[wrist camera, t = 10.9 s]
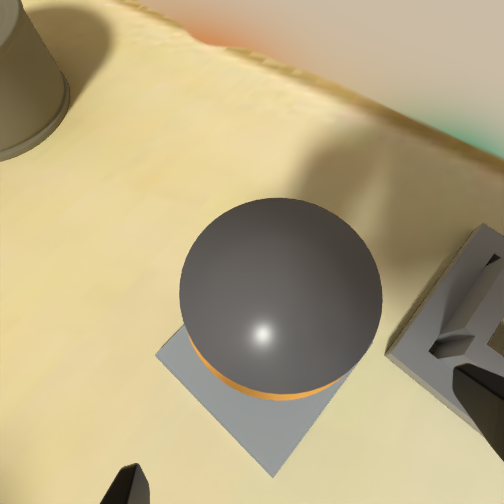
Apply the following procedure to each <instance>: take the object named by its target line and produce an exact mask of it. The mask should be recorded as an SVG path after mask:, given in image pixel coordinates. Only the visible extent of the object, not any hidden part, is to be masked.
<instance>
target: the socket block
mask: <svg viewBox="0 0 504 504" xmlns="http://www.w3.org/2000/svg"><path fill="white" fill-rule="evenodd" d="M488 262H489V263H491V264H489V265H487V266H486V264H487V263H488ZM503 317H504V236H503V235H501V234H499V233H498V232H496V231H495V230H493V229H492V228H490V227H488V226H487V225H485V224H484V223H483V224H481V225H480V226H479V227H477V228H476V229H475V230H474V231H473V232H472V233H471V235H470V236H469V238H468V239H467V240H466V242H465V243H464V245H463V246H462V247H461V249H460V250H459V252H458V253H457V254H456V256H455V257H454V259H453V260H452V261H451V263H450V264H449V266H448V267H447V268H446V270H445V271H444V273H443V274H442V275H441V277H440V278H439V280H438V281H437V282H436V284H435V285H434V287H433V288H432V289H431V291H430V292H429V294H428V295H427V296H426V298H425V299H424V301H423V302H422V303H421V305H420V306H419V308H418V309H417V310H416V312H415V313H414V315H413V316H412V317H411V319H410V320H409V322H408V323H407V324H406V326H405V327H404V329H403V330H402V331H401V333H400V334H399V336H398V337H397V338H396V340H395V341H394V343H393V344H392V345H391V347H390V348H389V350H388V351H387V352H386V354H385V356H386V357H387V358H388V359H390V360H391V361H392V362H393V363H394V364H396V365H397V366H398V367H399V368H401V369H402V370H403V371H404V372H405V373H407V374H408V375H409V376H410V377H411V378H413V379H414V380H415V381H416V382H418V383H419V384H420V385H421V386H422V387H424V388H425V389H426V390H427V391H429V392H430V393H431V394H432V395H433V396H435V397H436V398H437V399H438V400H440V401H441V402H442V403H443V404H444V405H446V406H447V407H448V408H449V409H451V410H452V411H453V412H454V413H455V414H457V415H458V416H459V417H460V418H462V419H463V420H464V421H465V422H466V423H468V424H469V425H470V426H471V427H473V428H474V429H475V430H476V431H477V432H479V433H480V434H481V435H482V436H483V434H482V433H481V432H480V430H479V429H478V427H477V426H476V425H475V423H474V422H473V420H472V419H471V418H470V416H469V415H468V413H467V412H466V411H465V409H464V408H463V406H462V405H461V404H460V402H459V401H458V399H457V398H456V396H455V395H454V393H453V389H452V378H453V368H454V367H455V366H457V365H461V364H464V363H470V364H473V365H476V366H478V367H481V368H483V369H486V370H488V371H490V372H493V373H495V374H498V375H500V376H503V377H504V357H503V356H502V355H501V354H499V353H498V352H496V351H495V350H494V349H492V348H491V347H490V346H488V345H487V343H488V341H489V340H490V338H491V337H492V335H493V333H494V332H495V330H496V328H497V327H498V325H499V323H500V322H501V320H502V319H503ZM434 342H437V343H438V344H439V346H438V347H437V349H436V351H435V352H434V354H433V355H432V354H431V353H430V352H428V351H429V350H430V348H431V347H432V345H433V344H434Z"/></svg>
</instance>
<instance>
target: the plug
mask: <svg viewBox="0 0 504 504" xmlns="http://www.w3.org/2000/svg"><path fill="white" fill-rule="evenodd" d="M179 297H180V308H181V313H182V317H183V321H184V324H185V327H186V329H187V333H188V335H189V338H190V341H191V343H192V345H193V347H194V349H195V351H196V353H197V355H198V356H199V358H200V359H201V360H202V362H203V363H204V365H205V366H206V367H207V368H208V369H209V370H210V371H211V372H212V373H213V374H214V375H215V376H216V377H217V378H218V379H220V380H221V381H222V382H224V383H225V384H226V385H228V386H230V387H231V388H233V389H235V390H237V391H239V392H241V393H244V394H246V395H249V396H252V397H256V398H260V399H265V400H274V401H284V400H294V399H300V398H305V397H307V396H310V395H313V394H316V393H318V392H320V391H322V390H324V389H326V388H328V387H330V386H331V385H332V384H334V383H335V382H337V381H338V380H339V379H340V378H341V377H342V376H343V375H345V374H346V373H347V372H348V371H349V370H351V369H352V368H353V367H354V366H355V365H356V364H357V363H358V362H359V360H360V359H361V358H362V357H363V355H364V354H365V353H366V351H367V350H368V348H369V346H370V345H371V343H372V341H373V339H374V337H375V334H376V331H377V329H378V326H379V322H380V317H381V312H382V286H381V281H380V276H379V272H378V269H377V266H376V263H375V261H374V259H373V257H372V255H371V253H370V251H369V249H368V248H367V246H366V245H365V243H364V242H363V240H362V239H361V238H360V237H359V235H358V234H357V233H356V232H355V231H354V230H353V229H352V228H351V227H350V226H349V225H348V224H347V223H346V222H344V221H343V220H342V219H340V218H339V217H338V216H336V215H335V214H333V213H331V212H329V211H328V210H326V209H324V208H321V207H319V206H317V205H315V204H311V203H308V202H305V201H301V200H295V199H288V198H267V199H260V200H255V201H251V202H248V203H244V204H242V205H239V206H237V207H234V208H232V209H231V210H229V211H227V212H225V213H223V214H222V215H221V216H219V217H218V218H216V219H215V220H214V221H213V222H212V223H211V224H209V225H208V226H207V227H206V228H205V229H204V230H203V232H202V233H201V234H200V235H199V236H198V238H197V239H196V241H195V242H194V244H193V245H192V247H191V249H190V251H189V253H188V255H187V257H186V260H185V263H184V266H183V269H182V274H181V279H180V291H179Z"/></svg>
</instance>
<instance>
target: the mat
mask: <svg viewBox="0 0 504 504" xmlns="http://www.w3.org/2000/svg"><path fill="white" fill-rule="evenodd" d="M372 343H373V342H372ZM372 343H371V345H372ZM371 345H370V346H371ZM370 346H369V347H370ZM368 349H369V348H368ZM155 356H156V357H157V358H158V359H159V360H160V361H161V362H162V363H163V365H164V366H165V367H166V368H167V369H168V370H169V371H170V372H171V373H172V374H173V375H174V376H175V377H176V378H177V379H178V380H179V381H180V382H181V383H182V384H183V385H184V386H185V387H186V388H187V389H188V391H189V392H190V393H191V394H192V395H193V396H194V397H195V398H196V399H197V400H198V401H199V402H200V403H201V404H202V405H203V406H204V407H205V408H206V409H207V410H208V411H209V412H210V413H211V414H212V415H213V417H214V418H215V419H216V420H217V421H218V422H219V423H220V424H221V425H222V426H223V427H224V428H225V429H226V430H227V431H228V432H229V433H230V434H231V435H232V436H233V437H234V438H235V439H236V440H237V442H238V443H239V444H240V445H241V446H242V447H243V448H244V449H245V450H246V451H247V452H248V453H249V454H250V455H251V456H252V457H253V458H254V459H255V460H256V461H257V462H258V463H259V464H260V465H261V466H262V468H263V469H264V470H265V471H266V472H267V473H268V474H269V475H270V476H271V477H272V478H274V476H275V475H276V473H277V472H278V471H279V469H280V468H281V467H282V465H283V464H284V463H285V461H286V460H287V459H288V457H289V456H290V454H291V453H292V452H293V450H294V449H295V448H296V446H297V445H298V444H299V442H300V441H301V440H302V438H303V437H304V435H305V434H306V433H307V431H308V430H309V429H310V427H311V426H312V425H313V423H314V422H315V421H316V419H317V418H318V417H319V415H320V414H321V412H322V411H323V410H324V408H325V407H326V406H327V404H328V403H329V402H330V400H331V399H332V398H333V396H334V395H335V393H336V392H337V391H338V389H339V388H340V387H341V385H342V384H343V383H344V381H345V380H346V379H347V377H348V376H349V374H350V373H351V372H352V370H353V369H354V368H355V366H356V365H357V364H358V363H357V364H356V365H355V366H354V367H353V368H352V369H351V370H349V371H348V372H347V373H346V374H345V375H343V376H342V377H341V378H340V379H339V380H338V381H337V382H335V383H334V384H332V385H331V386H330V387H328V388H326V389H324V390H322V391H320V392H318V393H316V394H313V395H310V396H307V397H305V398H300V399H294V400H284V401H274V400H265V399H260V398H256V397H252V396H249V395H246V394H244V393H241V392H239V391H237V390H235V389H233V388H231V387H230V386H228V385H226V384H225V383H224V382H222V381H221V380H220V379H218V378H217V377H216V376H215V375H214V374H213V373H212V372H211V371H210V370H209V369H208V368H207V367H206V366H205V365H204V363H203V362H202V360H201V359H200V358H199V356H198V355H197V353H196V351H195V349H194V347H193V345H192V343H191V341H190V338H189V335H188V333H187V329H186V327H185V324H184V325H183V326H182V327H181V328H180V330H179V331H178V332H177V333H176V334H175V335H174V336H173V337H172V338H171V339H170V340H169V341H168V342H167V343H166V344H165V345H164V346H163V347H162V348H161V349H160V350H159V351H158V352H157V353H156V354H155ZM360 360H361V359H360ZM360 360H359V361H360Z"/></svg>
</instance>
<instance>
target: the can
mask: <svg viewBox="0 0 504 504" xmlns="http://www.w3.org/2000/svg"><path fill="white" fill-rule="evenodd" d="M69 102H70V89H69V85H68V83H67V80H66V79H65V77H64V75H63V74H62V72H61V71H60V70H59V68H58V66H57V64H56V63H55V61H54V59H53V58H52V56H51V54H50V53H49V51H48V49H47V48H46V46H45V44H44V43H43V41H42V39H41V38H40V36H39V34H38V33H37V31H36V29H35V28H34V26H33V24H32V23H31V21H30V19H29V18H28V16H27V14H26V12H25V10H24V9H23V5H22V2H21V0H0V162H1V161H5V160H8V159H11V158H14V157H17V156H19V155H21V154H23V153H25V152H27V151H29V150H31V149H33V148H34V147H36V146H37V145H39V144H40V143H41V142H43V141H44V140H45V139H46V138H48V137H49V136H50V135H51V134H52V133H53V132H54V131H55V130H56V128H57V127H58V126H59V125H60V123H61V122H62V120H63V118H64V117H65V115H66V112H67V110H68V107H69Z"/></svg>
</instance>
